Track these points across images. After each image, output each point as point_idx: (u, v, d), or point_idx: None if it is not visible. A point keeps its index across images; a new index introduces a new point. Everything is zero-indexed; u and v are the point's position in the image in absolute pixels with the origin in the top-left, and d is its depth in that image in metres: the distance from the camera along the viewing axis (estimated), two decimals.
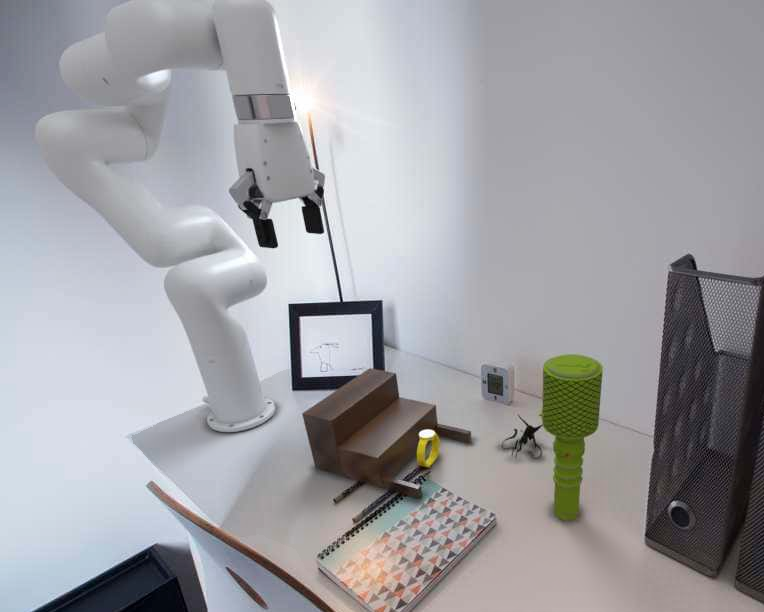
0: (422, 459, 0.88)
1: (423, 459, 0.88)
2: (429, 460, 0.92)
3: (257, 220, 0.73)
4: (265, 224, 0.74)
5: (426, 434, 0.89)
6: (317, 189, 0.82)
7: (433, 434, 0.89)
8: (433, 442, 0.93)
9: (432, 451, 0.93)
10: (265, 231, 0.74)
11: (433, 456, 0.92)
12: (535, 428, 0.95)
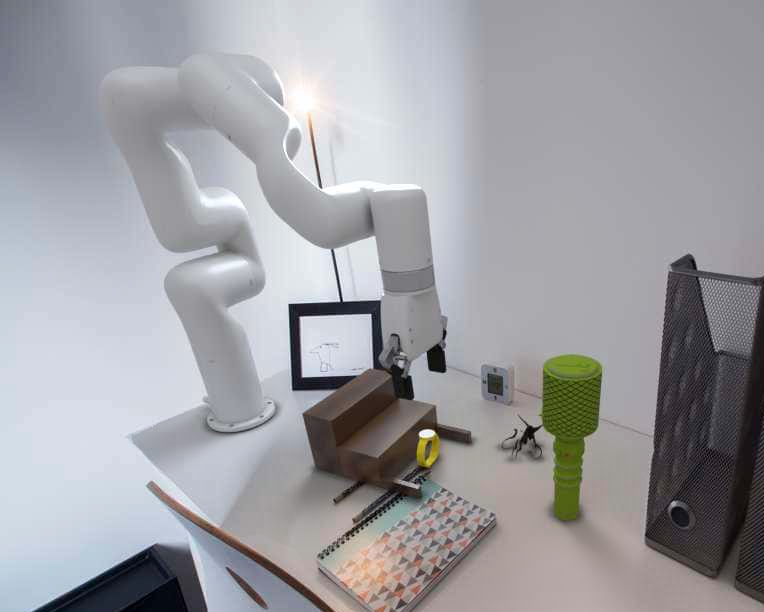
0: (422, 459, 0.88)
1: (423, 459, 0.88)
2: (429, 460, 0.92)
3: (398, 378, 0.77)
4: (405, 380, 0.78)
5: (426, 434, 0.89)
6: None
7: (433, 434, 0.89)
8: (433, 442, 0.93)
9: (432, 451, 0.93)
10: (404, 386, 0.78)
11: (433, 456, 0.92)
12: (535, 428, 0.95)
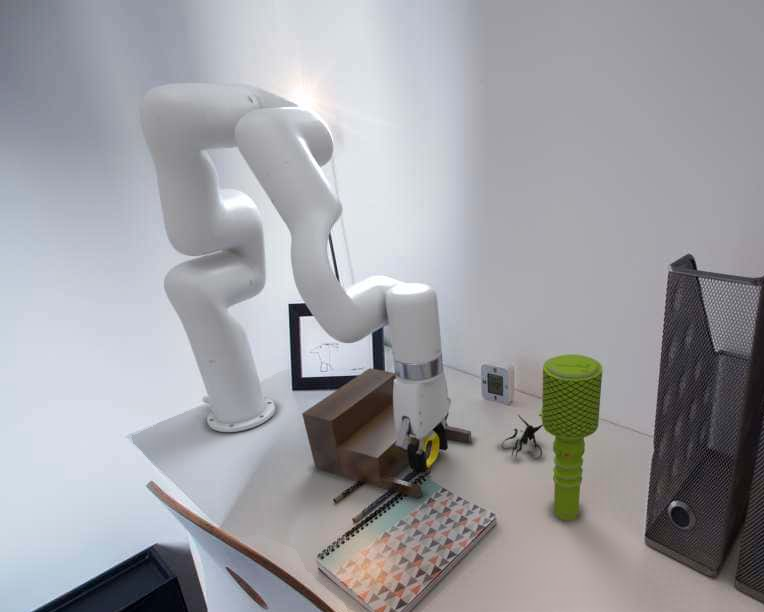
0: None
1: None
2: (429, 460, 0.92)
3: (413, 453, 0.86)
4: (419, 456, 0.86)
5: None
6: None
7: (433, 434, 0.89)
8: (433, 442, 0.93)
9: (432, 451, 0.93)
10: (419, 461, 0.86)
11: (433, 456, 0.92)
12: (535, 428, 0.95)
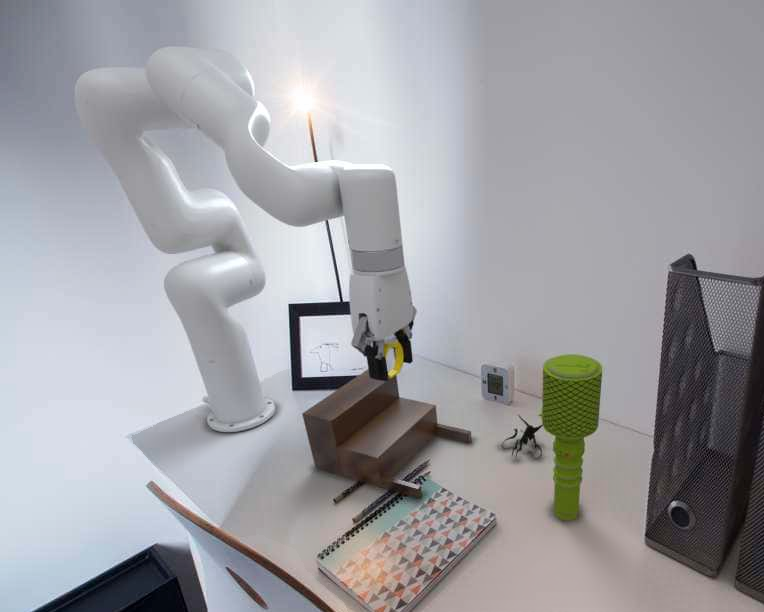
0: None
1: None
2: (392, 372, 0.86)
3: (372, 359, 0.80)
4: (379, 361, 0.80)
5: (388, 341, 0.83)
6: None
7: (395, 341, 0.83)
8: (397, 354, 0.87)
9: (396, 364, 0.87)
10: (379, 367, 0.81)
11: (397, 368, 0.86)
12: (535, 428, 0.95)
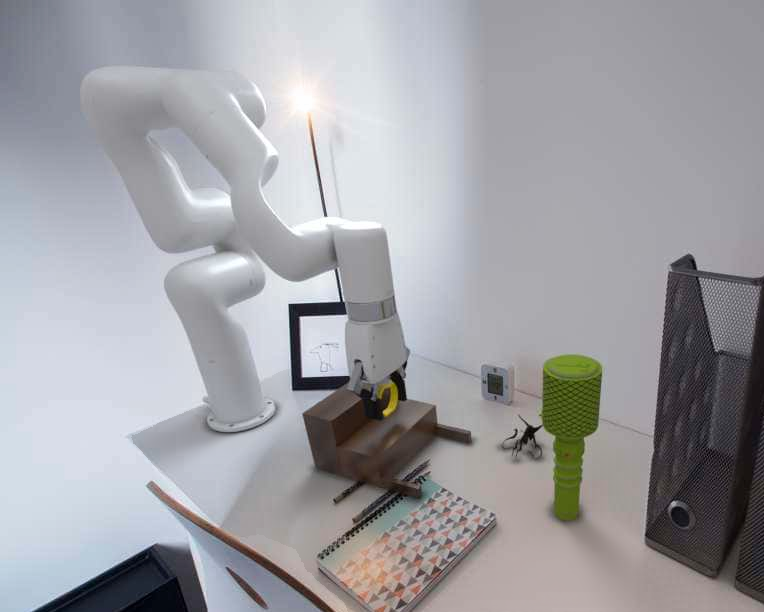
0: None
1: None
2: (387, 410, 0.90)
3: (368, 400, 0.84)
4: (374, 403, 0.85)
5: (383, 382, 0.87)
6: None
7: (390, 382, 0.87)
8: (392, 392, 0.91)
9: (391, 402, 0.91)
10: (374, 408, 0.85)
11: (392, 407, 0.91)
12: (535, 428, 0.95)
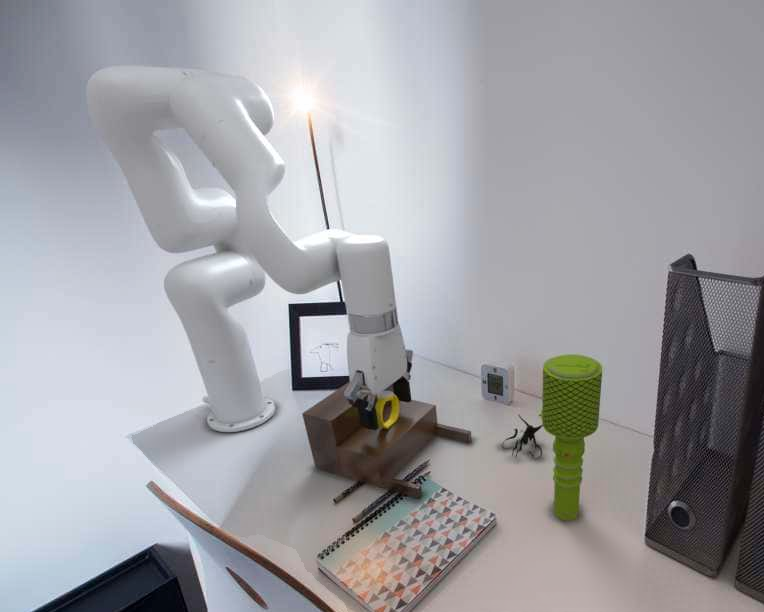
0: (380, 419, 0.88)
1: (381, 419, 0.87)
2: (389, 421, 0.91)
3: (363, 410, 0.84)
4: (369, 412, 0.84)
5: (384, 395, 0.88)
6: (407, 365, 0.92)
7: (391, 395, 0.88)
8: (393, 404, 0.92)
9: (392, 413, 0.93)
10: (369, 418, 0.85)
11: (393, 418, 0.92)
12: (535, 428, 0.95)
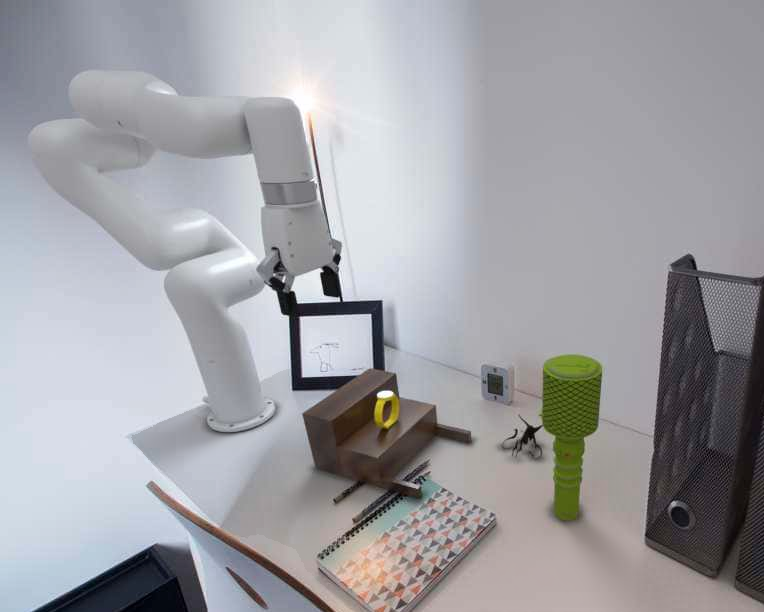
0: (380, 419, 0.88)
1: (381, 419, 0.87)
2: (389, 421, 0.91)
3: (281, 292, 0.79)
4: (288, 296, 0.80)
5: (384, 395, 0.88)
6: (335, 257, 0.88)
7: (391, 395, 0.88)
8: (393, 404, 0.92)
9: (392, 413, 0.93)
10: (288, 302, 0.80)
11: (393, 418, 0.92)
12: (535, 428, 0.95)
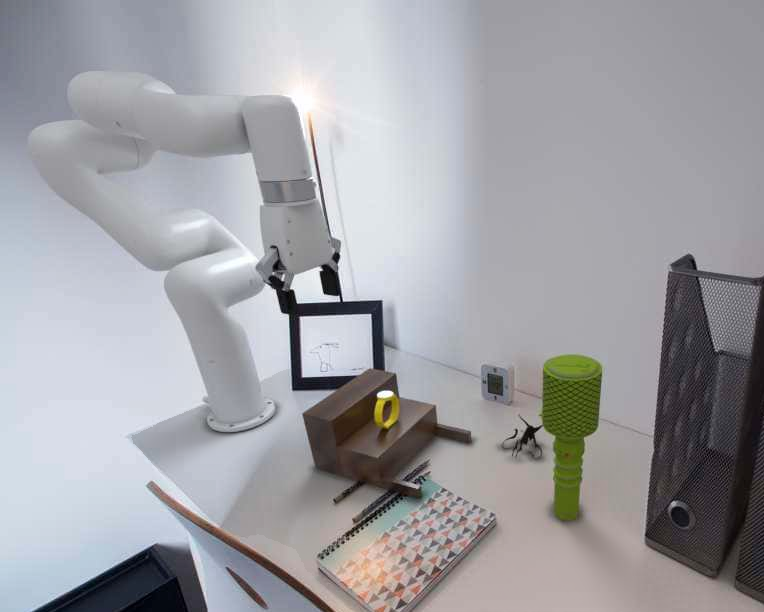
0: (380, 419, 0.88)
1: (381, 419, 0.87)
2: (389, 421, 0.91)
3: (280, 291, 0.79)
4: (287, 294, 0.80)
5: (384, 395, 0.88)
6: (334, 255, 0.88)
7: (391, 395, 0.88)
8: (393, 404, 0.92)
9: (392, 413, 0.93)
10: (287, 300, 0.80)
11: (393, 418, 0.92)
12: (536, 428, 0.95)
